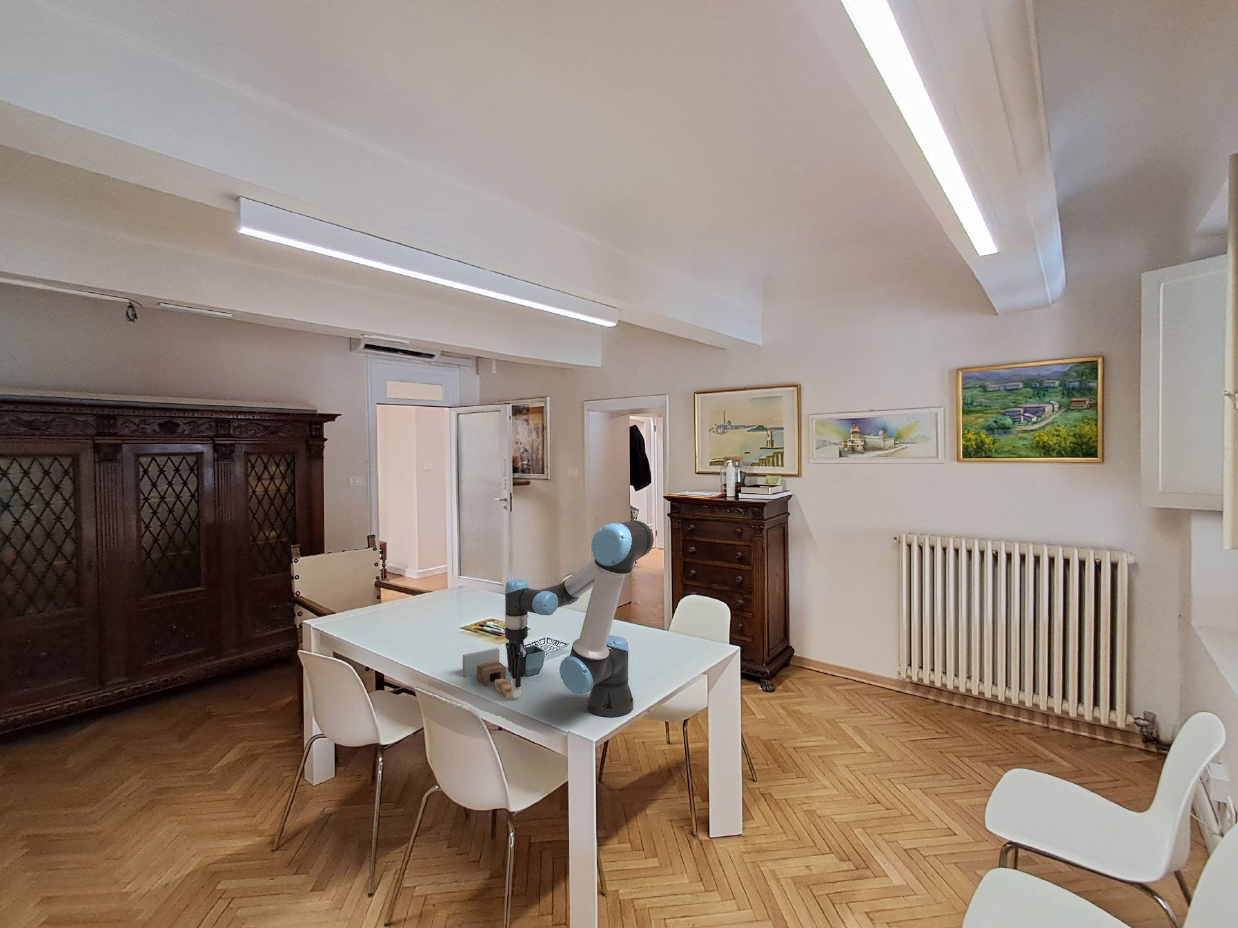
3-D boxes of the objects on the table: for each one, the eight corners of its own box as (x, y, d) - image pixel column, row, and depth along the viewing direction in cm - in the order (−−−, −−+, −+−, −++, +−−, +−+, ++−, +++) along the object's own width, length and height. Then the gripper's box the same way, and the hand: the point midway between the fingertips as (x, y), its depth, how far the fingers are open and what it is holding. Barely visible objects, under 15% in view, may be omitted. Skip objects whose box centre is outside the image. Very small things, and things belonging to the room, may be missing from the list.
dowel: (514, 695, 198) (514, 686, 198) (506, 697, 196) (506, 688, 196) (502, 686, 206) (502, 677, 206) (494, 688, 205) (494, 679, 205)
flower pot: (524, 679, 212) (524, 655, 212) (514, 672, 219) (514, 649, 219) (545, 674, 217) (545, 650, 217) (534, 667, 224) (534, 644, 224)
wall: (499, 669, 222) (499, 649, 222) (464, 677, 214) (464, 656, 214) (497, 668, 224) (497, 647, 224) (462, 675, 216) (462, 654, 216)
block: (505, 681, 210) (505, 666, 210) (484, 686, 206) (484, 670, 206) (496, 674, 217) (496, 660, 217) (476, 679, 212) (476, 664, 212)
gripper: (535, 629, 190) (535, 699, 190) (518, 620, 201) (518, 686, 201) (514, 632, 186) (514, 704, 186) (498, 623, 196) (498, 691, 197)
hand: (516, 695), depth 193 cm, fingers closed
